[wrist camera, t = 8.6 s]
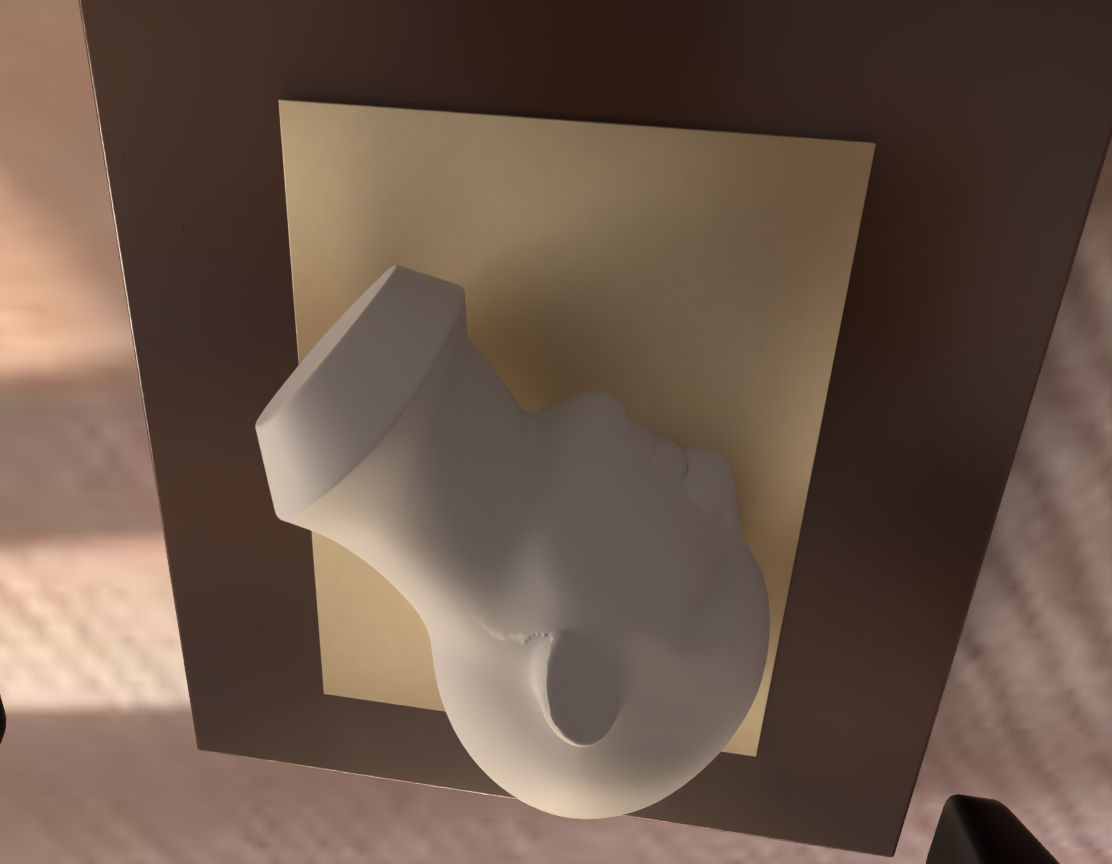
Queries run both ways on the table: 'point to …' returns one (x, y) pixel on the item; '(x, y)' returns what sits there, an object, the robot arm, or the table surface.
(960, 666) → the table surface
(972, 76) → the flat display stand
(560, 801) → the smooth white sculpture
